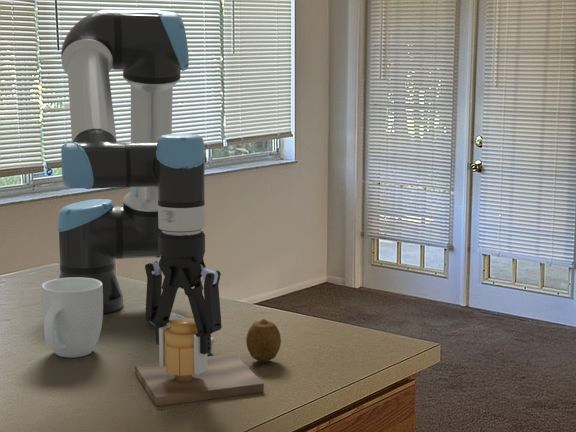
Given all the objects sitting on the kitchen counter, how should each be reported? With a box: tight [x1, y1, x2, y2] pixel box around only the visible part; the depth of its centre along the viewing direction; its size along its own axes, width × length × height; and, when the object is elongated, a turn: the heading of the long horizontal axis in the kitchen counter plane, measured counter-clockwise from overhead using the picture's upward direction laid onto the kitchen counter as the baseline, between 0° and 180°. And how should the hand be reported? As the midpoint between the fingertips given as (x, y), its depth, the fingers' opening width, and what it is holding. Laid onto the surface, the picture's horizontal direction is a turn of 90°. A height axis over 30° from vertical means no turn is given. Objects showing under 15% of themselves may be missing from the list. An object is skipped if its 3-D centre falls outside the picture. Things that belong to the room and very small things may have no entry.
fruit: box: [245, 318, 282, 364], centre depth 161 cm, size 6×6×8 cm
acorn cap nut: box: [164, 317, 198, 376], centre depth 147 cm, size 6×6×8 cm
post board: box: [134, 353, 265, 407], centre depth 150 cm, size 16×18×6 cm
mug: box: [41, 277, 104, 359], centre depth 163 cm, size 15×11×13 cm
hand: (183, 367), depth 147 cm, fingers closed on acorn cap nut, 6 cm apart
